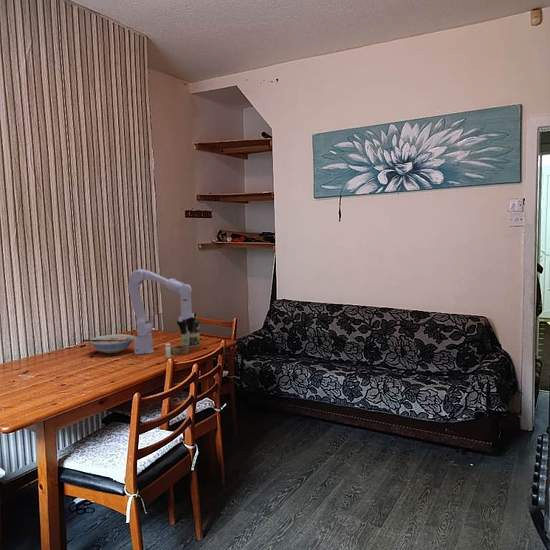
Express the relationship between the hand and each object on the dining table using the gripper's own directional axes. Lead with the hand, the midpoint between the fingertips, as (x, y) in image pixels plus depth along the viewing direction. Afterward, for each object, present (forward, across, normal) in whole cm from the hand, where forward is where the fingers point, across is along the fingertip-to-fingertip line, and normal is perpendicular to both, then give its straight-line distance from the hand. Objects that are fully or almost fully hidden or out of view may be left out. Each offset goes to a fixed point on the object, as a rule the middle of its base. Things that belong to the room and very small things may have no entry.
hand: (186, 332), depth 259 cm
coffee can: (+10, +12, +4) cm, 16 cm away
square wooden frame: (+10, -4, +3) cm, 11 cm away
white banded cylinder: (+10, -14, +4) cm, 18 cm away
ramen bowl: (+10, -10, +39) cm, 42 cm away
